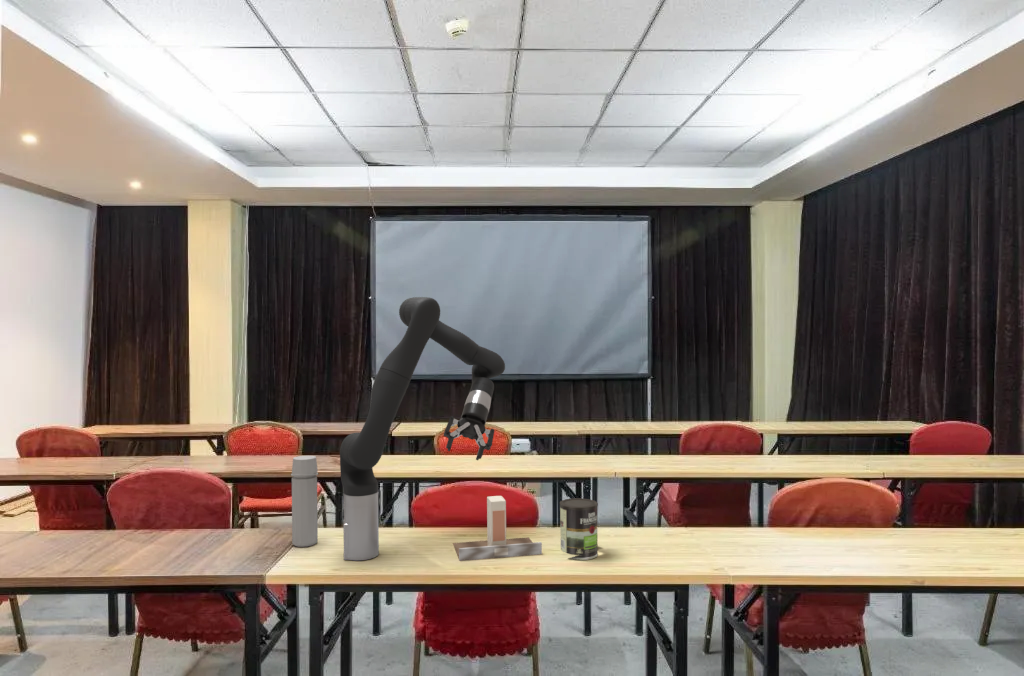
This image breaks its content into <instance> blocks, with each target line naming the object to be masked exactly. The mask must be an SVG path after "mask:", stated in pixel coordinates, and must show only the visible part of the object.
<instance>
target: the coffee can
mask: <svg viewBox="0 0 1024 676" xmlns="http://www.w3.org/2000/svg"><path fill="white" fill-rule="evenodd" d="M559 511H560V514H559V515H560V516H559V517H560V518H559V519H560V521H559V524H560V532H559V533H560V550H561V552H563V553H565V554H569V555H575V556H571V557H568V558H567V559H568V560H572V561H588V560H592V559H596V558H597V557H598V555H599V553H598V549H599V548H598V544H599V543H598V501H596V500H593V499H589V498H580V497H576V498H575V497H574V498H566V499H563V500H560V501H559Z"/></svg>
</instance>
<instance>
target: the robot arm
mask: <svg viewBox="0 0 1024 676" xmlns="http://www.w3.org/2000/svg"><path fill="white" fill-rule="evenodd" d="M398 313H399V314H398V316H399V318H400V320H401V322H402V323H403V324H404V325H405V326H406V327H407V329H406V330H405V334H404V336H403V337H402V339H401V340H400V342H398V344H397V345H396V346H395V347H394V349H392V350H391V352H390V353H389V354H388V355H387V356H386V357H385V359H384V360H383V361H382V363H381V365H380V367H379V369H378V371H377V374H376V376H375V378H374V380H373V383H372V385H371V392H370V403H369V404H370V405H369V410H368V415H367V418H366V420H365V422H364V424H363V427H362V429H361V430H360V432H352V433H350V434H348V435H347V436H346V437H344V438H343V441H341V442H342V443H341V445H340V449H339V466H340V467H339V469H340V482H341V484H342V488H343V526H342V530H343V560H345V561H346V560H350V561H365V560H366V561H367V560H371V559H374V558H376V557H377V556H379V554H380V552H379V551H380V543H379V542H380V541H379V537H380V536H379V533H380V532H379V527H380V526H379V481H378V480H377V477H376V475H375V473H374V469H373V468H374V467H375V466H376V465H377V464H378V463H379V461H380V460H381V459H382V456H383V453H384V450H385V446H386V444H387V440H388V436H389V433H390V430H391V427H392V424H393V421H394V419H395V417H396V415H397V412H398V410H399V408H400V405H401V403H402V401H403V399H404V396H405V395H406V392H407V389H408V388H409V386H410V383H411V380H412V377H413V374H414V372H415V369H416V367H417V365H418V363H419V361H420V358H421V356H422V354H423V352H424V349H425V347H426V346H427V343H428V342H429V340H430V339H431V340H432V341H434V342H435V343H437V344H438V345H440V346H442V347H443V348H444V349H446V350H447V351H449V353H450V354H452V355H453V356H455V357H456V358H458V359H459V360H460V361H462V362H463V363H464V364H466V365H468V366H472V367H471V386H470V390H469V392H468V395H467V397H466V400H465V403H464V406H463V410H462V411H461V412H462V414H461V416H460V419H456V418H455V417H454V415H451V416H450V417H449V419H448V422H447V424H446V427H445V429H444V432H443V437H446V438H447V444H446V445H445V449H447V451H448V452H450V451H451V449H452V445H453V442H454V439H457V438H459V437H461V436H462V437H463V438H468V439H469V440H475V442H476V445H477V446H478V451H477V454H476V457H475V460H476V461H479V460H481V459H482V457H483V455H484V451H485V450H487V451H490V450H491V447H492V446H493V442H494V441H493V440H494V435H495V429H494V428H490V429H487V428H486V422H487V419H488V416H489V413H490V408H491V405H492V404H491V403H492V398H493V394H494V391H495V384H494V382H493V380H491V379H493V378H496V377H498V376H501V375H502V374H503V373H504V371H505V369H506V365H505V364H506V363H505V360H504V359H503V358H502V356H501V355H500V354H498V353H496V352H495V351H493V350H490V349H488V348H486V347H483V346H480V345H479V344H477V343H476V342H475V341H474V340H473V339H471V338H470V337H469V336H467V335H466V334H464V333H463V332H461V331H459V330H457V329H455V328H453V327H452V326H449V325H448V324H446V323H445V322H442V321H441V320H440V317H441V307H440V304H439V303H438V301H437V300H436V299H434V298H433V297H427V296H424V297H423V296H421V297H420V296H416V297H415V296H414V297H409V298H406V299H405V300H403V301H402V303H401V304H400V306H399V309H398ZM455 425H456V426H457V428H456V429H455V430H454V431H452V432H451V431H450V430H451V428H452V427H455ZM484 434H485V437H486V438H487V441H486V442H485V440H484V436H483V435H484Z"/></svg>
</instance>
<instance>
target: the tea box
mask: <svg viewBox="0 0 1024 676" xmlns="http://www.w3.org/2000/svg"><path fill="white" fill-rule="evenodd" d="M486 512H487V513H486V521H487V522H486V524H487V526H486V527H487V530H486V531H487V534H486V535H487V537H486V538H487V539H486V541H487V544H488V546H495V545H506V539H507V500H506V499H505V498H504V497H503V496H502V495H493V496H492V495H491V496H490V495H489V496H487V497H486Z"/></svg>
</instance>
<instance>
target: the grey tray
mask: <svg viewBox="0 0 1024 676" xmlns="http://www.w3.org/2000/svg"><path fill="white" fill-rule="evenodd" d="M452 545H453V548H454V551H455V553H456V556H457V558H458V561H460V562H463V561H476V560H489V559H500V558H514V557H526V556H537V555H538V556H540V555H542V554H543V551H542V549H543V546H542V545H543V543H542V541H538V542H537V541H536V542H535V541H534V542H533V541H532V540H531V539H530V537H517V538H516V537H515V538H506V545H495V546H488V544H487V540H475V541H464V542H463V541H461V542H453V543H452Z"/></svg>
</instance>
